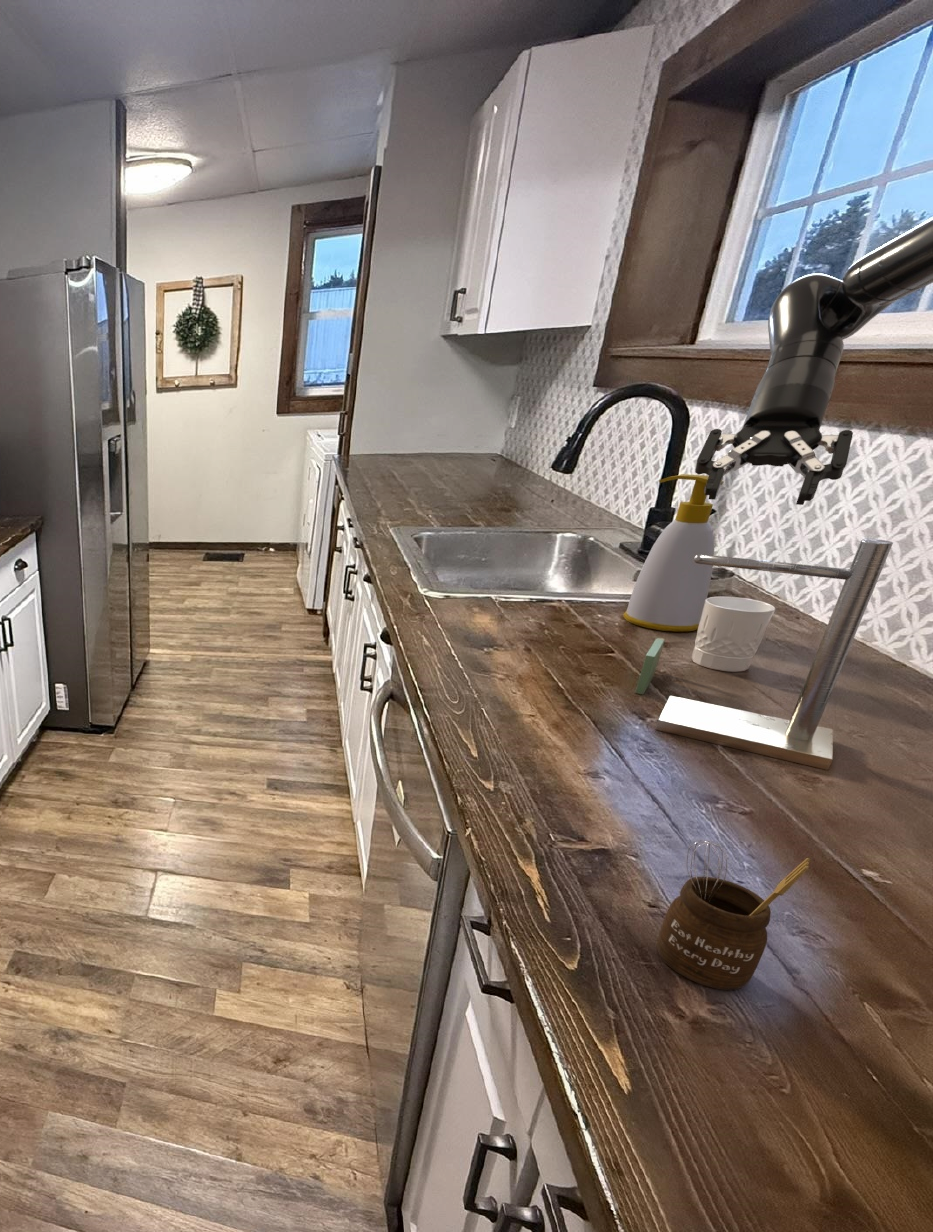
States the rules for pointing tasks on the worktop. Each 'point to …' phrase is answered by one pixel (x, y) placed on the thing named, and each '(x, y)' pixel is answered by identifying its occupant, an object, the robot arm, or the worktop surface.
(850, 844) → the worktop surface
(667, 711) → the stand
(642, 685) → the green spatula stick
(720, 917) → the utensil holder
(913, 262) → the robot arm
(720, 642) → the white cup
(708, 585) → the soap bottle
